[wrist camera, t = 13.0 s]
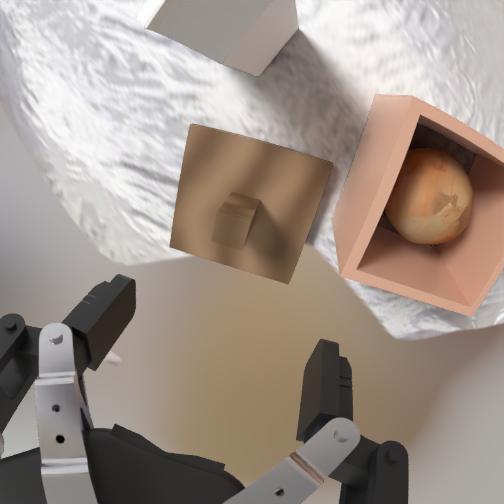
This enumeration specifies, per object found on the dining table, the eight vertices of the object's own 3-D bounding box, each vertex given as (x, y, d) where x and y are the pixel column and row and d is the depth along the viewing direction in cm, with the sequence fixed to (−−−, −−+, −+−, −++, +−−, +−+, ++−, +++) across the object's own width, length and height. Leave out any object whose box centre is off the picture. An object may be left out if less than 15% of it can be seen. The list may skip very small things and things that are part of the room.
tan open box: (484, 150, 27) (544, 180, 16) (436, 256, 34) (471, 317, 24) (375, 94, 27) (411, 95, 17) (331, 218, 35) (339, 276, 24)
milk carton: (299, 27, 25) (288, -49, 9) (259, 77, 28) (199, 58, 12) (243, -5, 24) (174, -89, 8) (205, 44, 27) (99, 7, 11)
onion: (365, 215, 34) (383, 259, 25) (381, 130, 29) (410, 146, 20) (437, 228, 33) (471, 272, 24) (457, 149, 28) (503, 173, 19)
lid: (332, 162, 31) (338, 180, 25) (289, 279, 39) (284, 315, 33) (193, 123, 31) (166, 132, 25) (172, 243, 39) (149, 272, 33)
